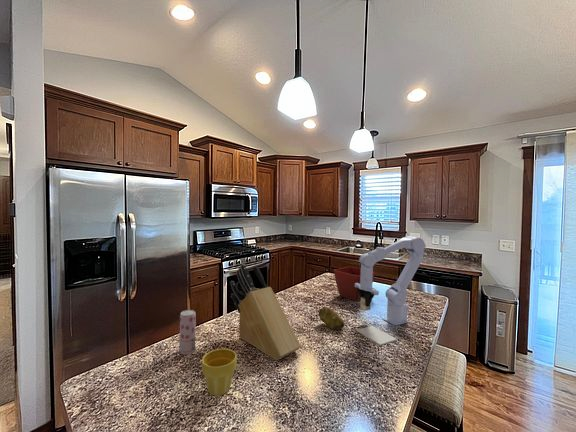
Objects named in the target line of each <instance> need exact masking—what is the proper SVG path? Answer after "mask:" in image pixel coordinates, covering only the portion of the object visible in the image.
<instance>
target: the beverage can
mask: <svg viewBox="0 0 576 432" xmlns="http://www.w3.org/2000/svg"><path fill="white" fill-rule="evenodd" d="M196 314H197V313H196V311H195V310H194V309H185V310H182V311H181V312H180V315H179V353H180V354H181V355H185V356H186V355H191V354H193V353H194V352H195V351H196V333H197V331H196V324H197V323H196V318H197V315H196Z"/></svg>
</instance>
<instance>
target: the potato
mask: <svg viewBox="0 0 576 432" xmlns="http://www.w3.org/2000/svg"><path fill="white" fill-rule="evenodd" d="M318 317H319V319H320V321H322V322H323V323H324V324H325V326H326V327H327V328H329V329H331V330H342V329H344V327H345V321H344V320H343V318H342V317H341V316H340V315H339V314H338V313H337V312H336V311H334V310H333V309H332V308H330V307H328V306H324V307H321V308H320V309H319V310H318Z"/></svg>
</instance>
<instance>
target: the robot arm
mask: <svg viewBox="0 0 576 432" xmlns="http://www.w3.org/2000/svg"><path fill="white" fill-rule="evenodd" d="M401 249H406V250H407V252H408V253H409V258H408V261H406V264H405V265H404V268H403V269H402V271H401V272H400V275H399V277H398V278H397V280H396V282H395V283H392V284H391V285H390V287H389V288H388V289H387V290H386V291H385V297H386V298H387V304H386V305H387V309H386V310H387V311H386V317H383V318H382V320H384V321H385V322H388V323H389V324H392V325H393V326H399V325H403V324H407V323H409V320H408V306H407V305H406V304H405V303H406V302H407V301H406V300H407V296H408V291H407V290H408V287H409V285H410V283H411V281H412V280H413V278H414V276H415V274H416V272H417V270H418V269H419V267H420V264H421V263H422V262H423V260H424V254H425V249H426V243H425V240H424V239H423V238H421V237H415V236H412V235H406V236H404V237H401V238H400V239H399V240H396V241H395V242H393V243H391V244H389V245H387V246H386V247H383V246H377V247H376V248H375V249H373V250H372V251H368V252H367V253H363V254H361V255H360V257H359V258H358V260H359V262H360V268H361V278H360V284H359V283H355V287H358V288H359V290H357V292H358V294H359V296H360V300H359V301H361V297H365V300H366V307H369V306H370V307H371V303H372V300H373V298H374V297H375V296H379V293H380V292H379V290H377V289H376V288H374V287H373V283H372V277H373V271H374V266H375V264H376V263H378V262H380V261H382V260H384V259H386V258H387V257H389V256H388V255H389V254H391V253H394V252H397V251H399V250H401Z"/></svg>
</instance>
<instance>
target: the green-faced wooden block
mask: <svg viewBox="0 0 576 432" xmlns="http://www.w3.org/2000/svg"><path fill="white" fill-rule="evenodd" d="M360 310H361V311H364V312H365V311H369V310H370V311H371V305H370V306H369V307H366V300H365V297H361V300H360Z"/></svg>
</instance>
